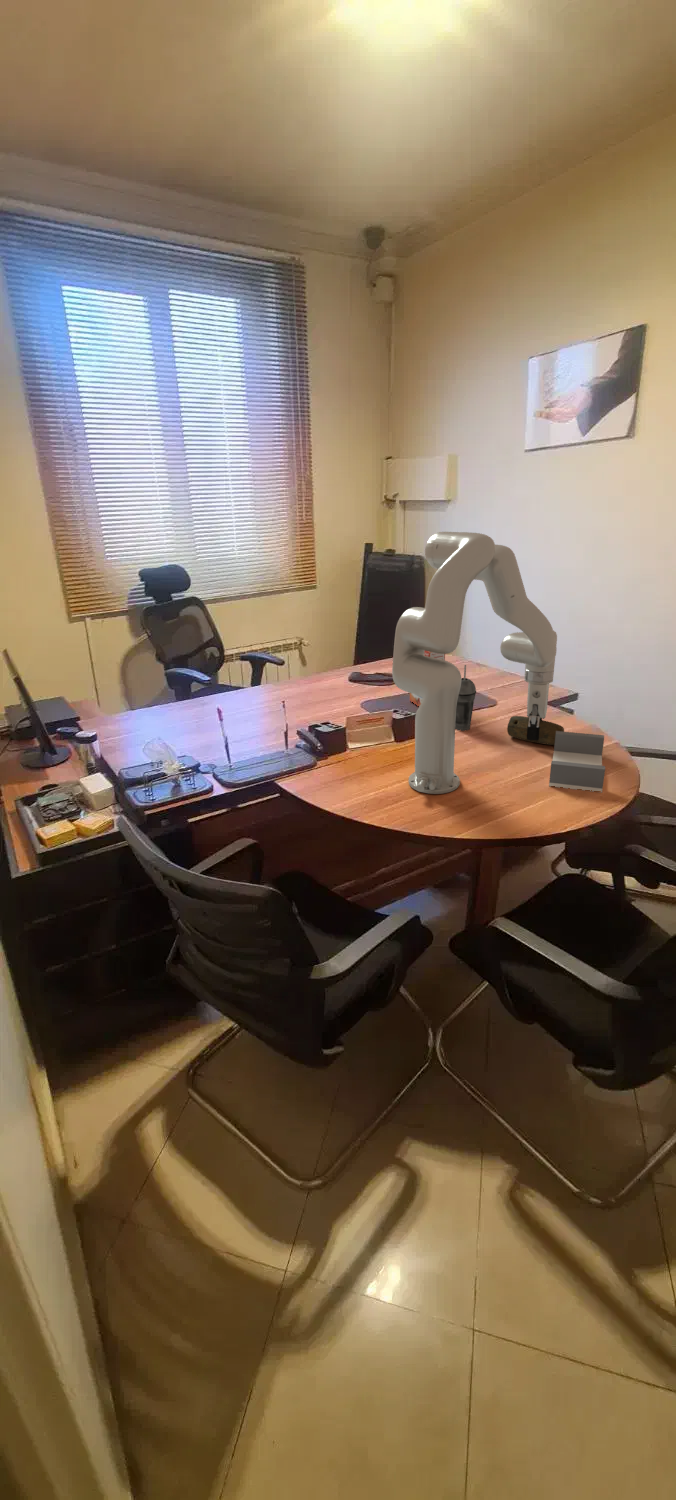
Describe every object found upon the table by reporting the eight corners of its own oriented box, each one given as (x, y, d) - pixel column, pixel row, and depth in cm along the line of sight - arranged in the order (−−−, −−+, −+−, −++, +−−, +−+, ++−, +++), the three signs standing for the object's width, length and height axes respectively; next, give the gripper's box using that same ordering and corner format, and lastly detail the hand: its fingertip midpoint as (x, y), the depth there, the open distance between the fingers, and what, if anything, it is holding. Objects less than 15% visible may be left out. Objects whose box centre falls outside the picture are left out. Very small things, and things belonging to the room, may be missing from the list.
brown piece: (504, 741, 179) (506, 719, 177) (511, 733, 185) (513, 711, 182) (558, 750, 172) (560, 727, 170) (564, 741, 178) (566, 719, 175)
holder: (602, 792, 148) (605, 769, 146) (548, 786, 152) (551, 763, 150) (601, 756, 167) (604, 735, 165) (554, 751, 171) (556, 730, 169)
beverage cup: (473, 723, 193) (476, 660, 185) (475, 732, 186) (479, 667, 178) (449, 723, 193) (451, 660, 185) (451, 732, 187) (453, 667, 179)
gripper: (551, 685, 162) (545, 746, 169) (555, 667, 177) (549, 723, 184) (521, 683, 165) (517, 743, 171) (527, 665, 179) (523, 721, 186)
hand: (534, 733), depth 177 cm, fingers open, 9 cm apart
